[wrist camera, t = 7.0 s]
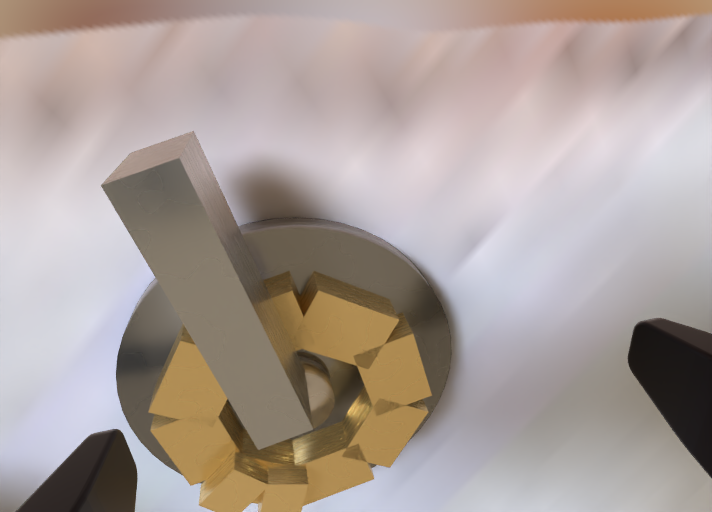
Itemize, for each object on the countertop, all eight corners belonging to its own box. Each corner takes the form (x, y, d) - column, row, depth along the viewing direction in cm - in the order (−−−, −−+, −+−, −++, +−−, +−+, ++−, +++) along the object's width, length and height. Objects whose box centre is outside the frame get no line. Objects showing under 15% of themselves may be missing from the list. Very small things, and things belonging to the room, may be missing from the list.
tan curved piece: (437, 425, 24) (475, 510, 20) (228, 504, 24) (223, 607, 20) (329, 75, 16) (356, 95, 12) (8, 187, 16) (-83, 249, 12)
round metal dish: (290, 512, 28) (294, 561, 25) (47, 379, 21) (19, 427, 18) (497, 350, 25) (523, 386, 23) (296, 141, 18) (303, 161, 16)
